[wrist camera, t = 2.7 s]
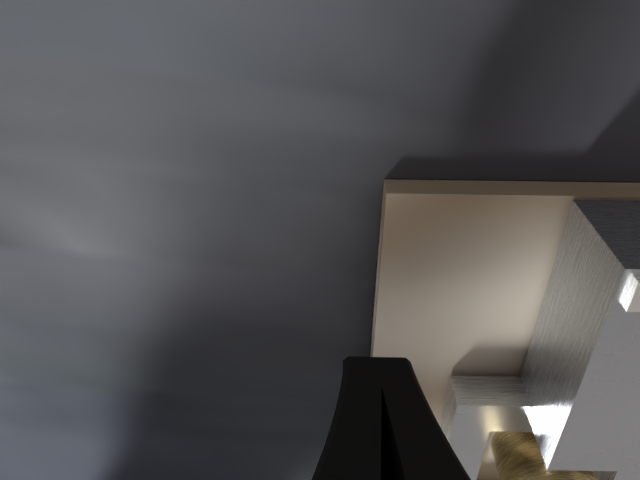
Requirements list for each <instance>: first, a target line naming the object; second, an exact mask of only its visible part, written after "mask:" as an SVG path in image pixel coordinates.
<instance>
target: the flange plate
mask: <svg viewBox="0 0 640 480" xmlns="http://www.w3.org/2000/svg"><path fill="white" fill-rule="evenodd" d="M440 427H441V429H442V431H443V433H444V434H445V436H446V438H447V440H448V442H449V443H450V445H451V447H452V449H453V451H454V452H455V454H456V456H457V457H458V459H459V461H460V462H461V464H462V466H463V467H464V469H465V471H466V472H467V474H468V475H469V477H470V478H471V480H477V476H478V472H479V469H480V465H481V461H482V458H483V454H484V451H485V447H486V443H487V440H488V436H489V432H490V431H496V432H533V433H534V435H535V438H536V441H537V444H538V446H539V449H540V452H541V454H542V457H543V460H544V463H545V465H546V468H547V470H570V471H594V472H595V474H596V477H597V479H598V480H640V201H633V200H572V204H571V207H570V210H569V214H568V217H567V220H566V224H565V227H564V230H563V234H562V237H561V241H560V244H559V247H558V251H557V254H556V257H555V261H554V264H553V267H552V271H551V274H550V278H549V281H548V284H547V288H546V291H545V294H544V298H543V301H542V305H541V308H540V311H539V315H538V318H537V321H536V325H535V328H534V331H533V335H532V338H531V342H530V345H529V348H528V352H527V355H526V358H525V362H524V365H523V369H522V372H521V375H520V377H513V376H456V375H450V378H449V383H448V388H447V393H446V398H445V403H444V409H443V414H442V419H441V424H440Z"/></svg>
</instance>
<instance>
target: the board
mask: <svg viewBox="0 0 640 480" xmlns="http://www.w3.org/2000/svg"><path fill="white" fill-rule="evenodd" d="M572 200H633V201H640V183H615V182H541V181H467V180H393V179H384V186H383V199H382V212H381V225H380V237H379V250H378V263H377V276H376V288H375V301H374V314H373V327H372V339H371V352H370V357H403V358H407V359H408V360H409V361H410V362H411V364H412V367H413V370H414V372H415V375H416V377H417V380H418V382H419V384H420V387H421V389H422V391H423V393H424V396H425V398H426V400H427V402H428V404H429V406H430V408H431V410H432V412H433V414H434V416H435V418H436V420H437V422H438V424H439V425H440V424H441V419H442V414H443V409H444V403H445V398H446V393H447V388H448V383H449V378H450V375H456V376H513V377H520V375H521V372H522V369H523V365H524V362H525V358H526V355H527V352H528V348H529V345H530V342H531V338H532V335H533V331H534V328H535V325H536V321H537V318H538V315H539V311H540V308H541V305H542V301H543V298H544V294H545V291H546V288H547V284H548V281H549V278H550V274H551V271H552V267H553V264H554V261H555V257H556V254H557V251H558V247H559V244H560V241H561V237H562V234H563V230H564V227H565V224H566V220H567V217H568V214H569V210H570V207H571V204H572ZM495 432H496V431H490V432H489V436H488V440H487V443H486V447H485V451H484V454H483V458H482V461H481V465H480V469H479V472H478V476H477V480H500V478H499V474H498V471H497V467H496V464H495V460H494V457H493V453H492V449H491V440H492V437H493V435H494V434H495Z"/></svg>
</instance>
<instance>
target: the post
mask: <svg viewBox="0 0 640 480" xmlns="http://www.w3.org/2000/svg"><path fill="white" fill-rule="evenodd" d="M491 449H492V453H493V457H494V460H495V464H496V467H497V471H498V474H499V478H500V480H598V479H597V477H596V474H595V472H594V471H570V470H547V468H546V465H545V463H544V460H543V457H542V454H541V452H540V449H539V446H538V444H537V441H536V438H535V435H534V433H533V432H495V434H494V435H493V437H492V440H491Z"/></svg>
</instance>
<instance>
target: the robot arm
mask: <svg viewBox="0 0 640 480" xmlns="http://www.w3.org/2000/svg"><path fill="white" fill-rule="evenodd" d="M312 480H471V478H470V477H469V475H468V474H467V472H466V471H465V469H464V467H463V466H462V464H461V462H460V461H459V459H458V457H457V456H456V454H455V452H454V451H453V449H452V447H451V445H450V443H449V442H448V440H447V438H446V436H445V434H444V433H443V431H442V429H441V427H440V425H439V424H438V422H437V420H436V418H435V416H434V414H433V412H432V410H431V408H430V406H429V404H428V402H427V400H426V398H425V396H424V393H423V391H422V389H421V387H420V384H419V382H418V380H417V377H416V375H415V372H414V370H413V367H412V364H411V362H410V361H409V360H408V359H407V358H403V357H351V356H349V357H347V358H346V359H344V360H343V375H342V383H341V388H340V393H339V398H338V402H337V406H336V410H335V414H334V417H333V420H332V424H331V427H330V430H329V434H328V437H327V440H326V443H325V446H324V449H323V452H322V454H321V457H320V459H319V462H318V465H317V467H316V470H315V473H314V475H313V478H312Z"/></svg>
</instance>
